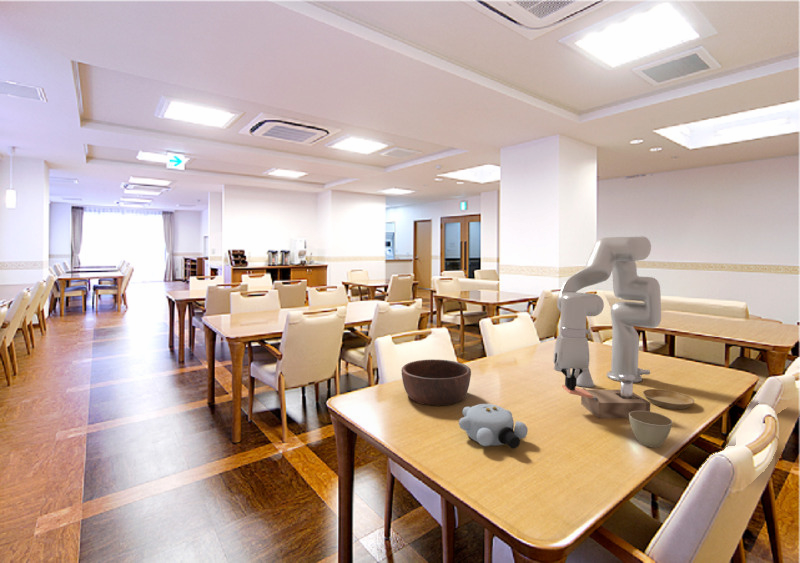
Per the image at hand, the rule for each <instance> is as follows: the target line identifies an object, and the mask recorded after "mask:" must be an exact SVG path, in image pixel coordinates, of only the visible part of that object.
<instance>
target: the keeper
mask: <svg viewBox="0 0 800 563" xmlns="http://www.w3.org/2000/svg"><path fill="white" fill-rule="evenodd" d="M561 388H563V390H565V391H566V392H567V393H568V394H570V395H576V396H580V397H581V396H584V397H588V398H593V396H592V395H591V394H590V393H588V392H587V391H586V390H587V389H586V390H584V389H582V388H581V387H575V390H569V389H568V388H567V387H566V386H565V384H562V386H561Z"/></svg>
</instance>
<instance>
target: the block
mask: <svg viewBox="0 0 800 563" xmlns="http://www.w3.org/2000/svg"><path fill="white" fill-rule="evenodd" d="M581 389H584V390H586V391H587V392H588V393H590V394H591V395H592V396H593V398H588V397H584V396H580V397H581V398H580V402H581V403H580V404H581V405H582V406H583V407H584V408H585V409H586V410H588V411H589V412H590V413H591V414H592V415H594V416H595V417H596V419H599V420H600V419H605V420H606V419H614V420H617V419H625V420H626V419H628V420H629V413H630V412H632V411H649V412H651V402H650V401H649V400H648V399H647V400H646V398H645V399H644V398H643V397H641V395H638V394H637V393H635V392H633V396H632V399H622V398H621V397H620V394H621V389H586V387H582V388H581Z"/></svg>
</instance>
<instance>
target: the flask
mask: <svg viewBox="0 0 800 563" xmlns="http://www.w3.org/2000/svg"><path fill="white" fill-rule="evenodd" d="M588 368H590V367H588ZM576 386H578V387H582V388H593V387H595V383H594V380H593V378H592V374H591V371H590V370H589V371H587V372H582V373H581V374H580V375H579V376H578V378H577V384H576Z"/></svg>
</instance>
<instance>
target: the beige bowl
mask: <svg viewBox="0 0 800 563" xmlns="http://www.w3.org/2000/svg"><path fill="white" fill-rule="evenodd" d="M628 420H629V424H630V427H631V430H632V432H633V434H634V437H635V438H636V440H637V442H638V443H640V444H641V445H643V446H645V447H648V446H649V447H650V448H659V447H660V446H662V445H663V443H664V442H665V441H666V439H667V438H668V437H669V434H670V433H671V429H672V428H673V421H672V419H671V418H669V416H665V415H664V414H661V413H657V412H653V411H650V412H649V411H632V412H630V413H629V419H628Z"/></svg>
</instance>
